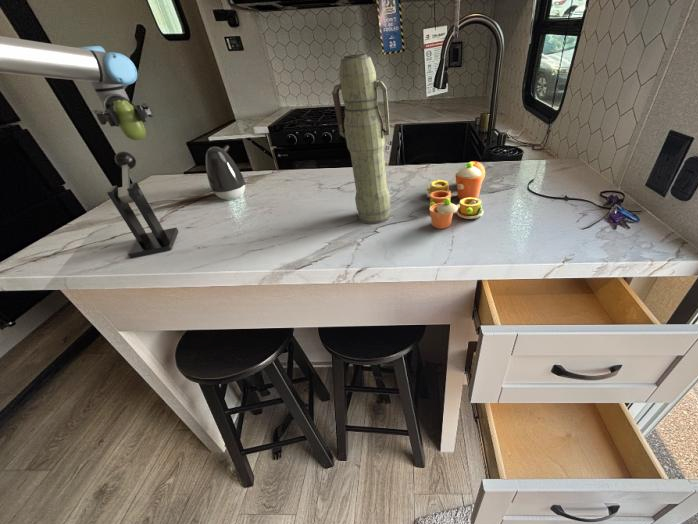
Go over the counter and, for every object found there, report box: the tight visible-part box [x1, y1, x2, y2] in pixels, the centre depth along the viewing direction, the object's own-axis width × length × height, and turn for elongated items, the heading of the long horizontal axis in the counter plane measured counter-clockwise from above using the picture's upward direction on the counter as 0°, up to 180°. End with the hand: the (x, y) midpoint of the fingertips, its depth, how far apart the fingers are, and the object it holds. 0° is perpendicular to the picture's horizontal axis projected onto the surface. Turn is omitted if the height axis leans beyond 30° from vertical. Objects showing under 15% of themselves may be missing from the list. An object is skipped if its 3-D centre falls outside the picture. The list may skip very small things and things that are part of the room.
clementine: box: [463, 160, 486, 182], centre depth 100 cm, size 8×7×7 cm
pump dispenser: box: [205, 144, 246, 201], centre depth 104 cm, size 10×10×15 cm
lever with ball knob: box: [114, 151, 137, 204], centre depth 80 cm, size 14×4×4 cm, turn 19°
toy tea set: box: [425, 161, 484, 230], centre depth 87 cm, size 26×16×10 cm, turn 175°
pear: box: [113, 100, 147, 141], centre depth 92 cm, size 6×5×10 cm
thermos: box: [331, 53, 392, 225], centre depth 79 cm, size 9×12×35 cm
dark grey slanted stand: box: [106, 181, 179, 259], centre depth 81 cm, size 11×9×15 cm
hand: (128, 118), depth 88 cm, fingers closed on pear, 5 cm apart
